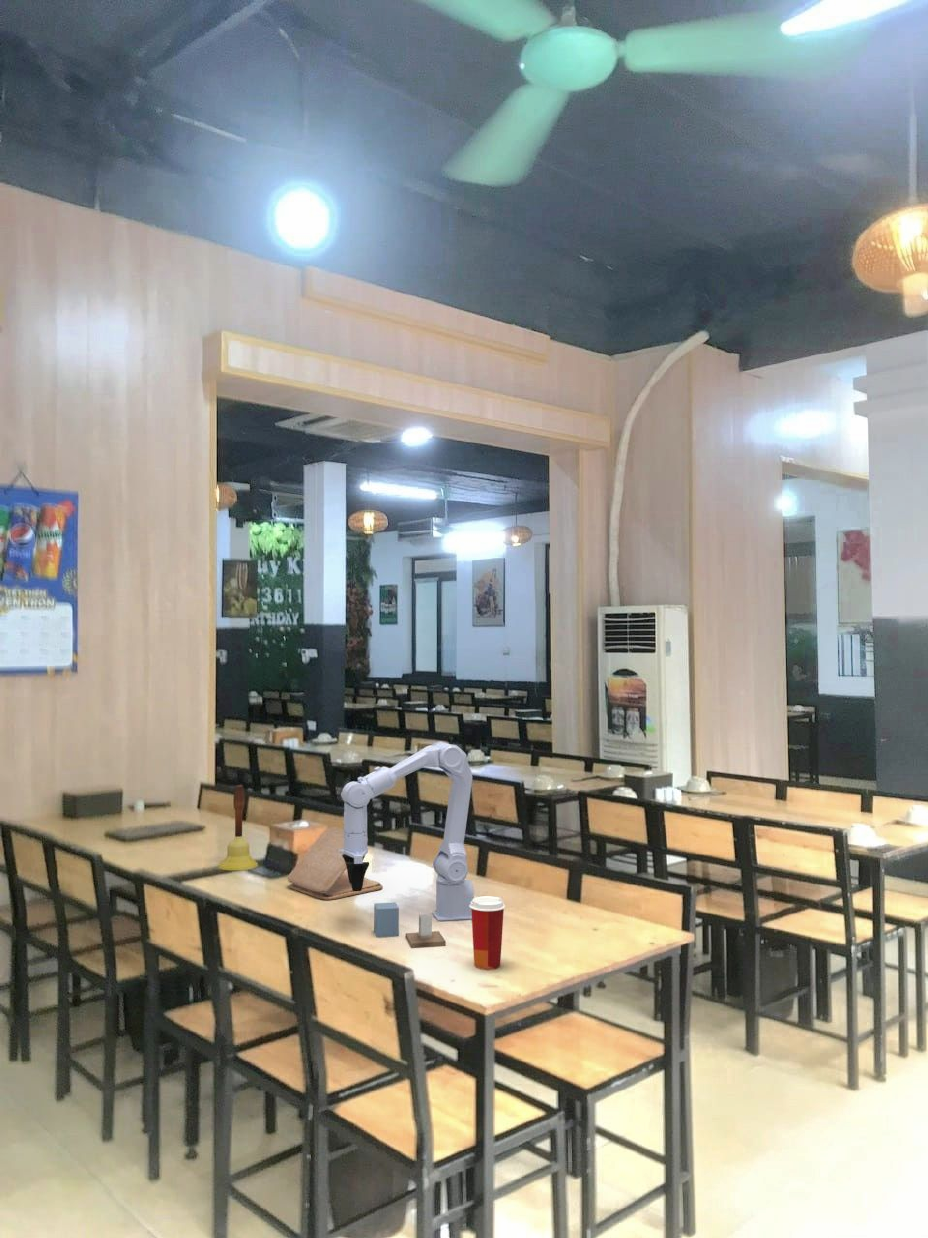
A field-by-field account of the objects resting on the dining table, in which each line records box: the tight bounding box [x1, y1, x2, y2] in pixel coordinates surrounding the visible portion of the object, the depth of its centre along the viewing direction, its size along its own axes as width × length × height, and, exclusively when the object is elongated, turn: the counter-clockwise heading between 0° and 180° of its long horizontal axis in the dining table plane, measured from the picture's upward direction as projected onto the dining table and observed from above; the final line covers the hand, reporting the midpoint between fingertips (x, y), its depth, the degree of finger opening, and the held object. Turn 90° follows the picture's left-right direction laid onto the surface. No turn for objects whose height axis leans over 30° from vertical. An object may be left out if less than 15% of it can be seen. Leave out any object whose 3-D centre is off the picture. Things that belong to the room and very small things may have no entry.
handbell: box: [217, 784, 259, 871], centre depth 300 cm, size 12×12×25 cm
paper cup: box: [469, 895, 506, 971], centre depth 208 cm, size 8×8×14 cm
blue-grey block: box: [373, 901, 400, 938], centre depth 230 cm, size 5×5×7 cm
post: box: [418, 913, 433, 939], centre depth 224 cm, size 3×3×5 cm
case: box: [287, 826, 384, 901], centre depth 272 cm, size 20×21×16 cm
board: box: [405, 930, 447, 949], centre depth 224 cm, size 8×8×1 cm
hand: (355, 887), depth 236 cm, fingers open, 7 cm apart
